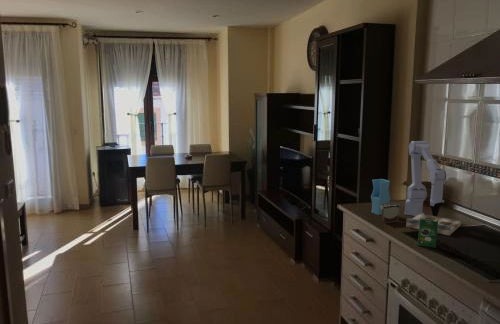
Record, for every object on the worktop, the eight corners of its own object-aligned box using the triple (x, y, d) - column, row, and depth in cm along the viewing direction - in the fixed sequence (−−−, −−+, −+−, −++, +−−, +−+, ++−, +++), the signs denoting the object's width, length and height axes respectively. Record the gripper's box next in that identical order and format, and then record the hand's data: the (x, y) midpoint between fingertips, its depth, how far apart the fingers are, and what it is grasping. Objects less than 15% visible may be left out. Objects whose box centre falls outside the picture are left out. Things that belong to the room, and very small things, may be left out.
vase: (370, 211, 256) (371, 179, 253) (380, 210, 259) (382, 178, 256) (378, 215, 249) (380, 182, 246) (389, 213, 252) (391, 181, 249)
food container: (392, 218, 243) (393, 201, 241) (399, 221, 237) (400, 204, 235) (374, 220, 238) (375, 203, 237) (381, 223, 233) (382, 206, 231)
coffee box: (436, 246, 198) (438, 219, 196) (436, 248, 195) (438, 221, 193) (417, 244, 201) (419, 217, 199) (417, 246, 198) (419, 219, 196)
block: (424, 224, 223) (425, 217, 222) (427, 223, 226) (427, 215, 225) (432, 226, 220) (433, 218, 219) (434, 224, 223) (435, 217, 222)
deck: (406, 226, 227) (406, 218, 226) (419, 217, 244) (420, 210, 243) (449, 235, 213) (450, 227, 212) (460, 225, 230) (461, 217, 229)
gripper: (440, 195, 219) (438, 220, 221) (448, 190, 230) (446, 214, 232) (426, 193, 223) (424, 217, 225) (435, 188, 234) (433, 212, 236)
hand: (434, 216), depth 229 cm, fingers closed
